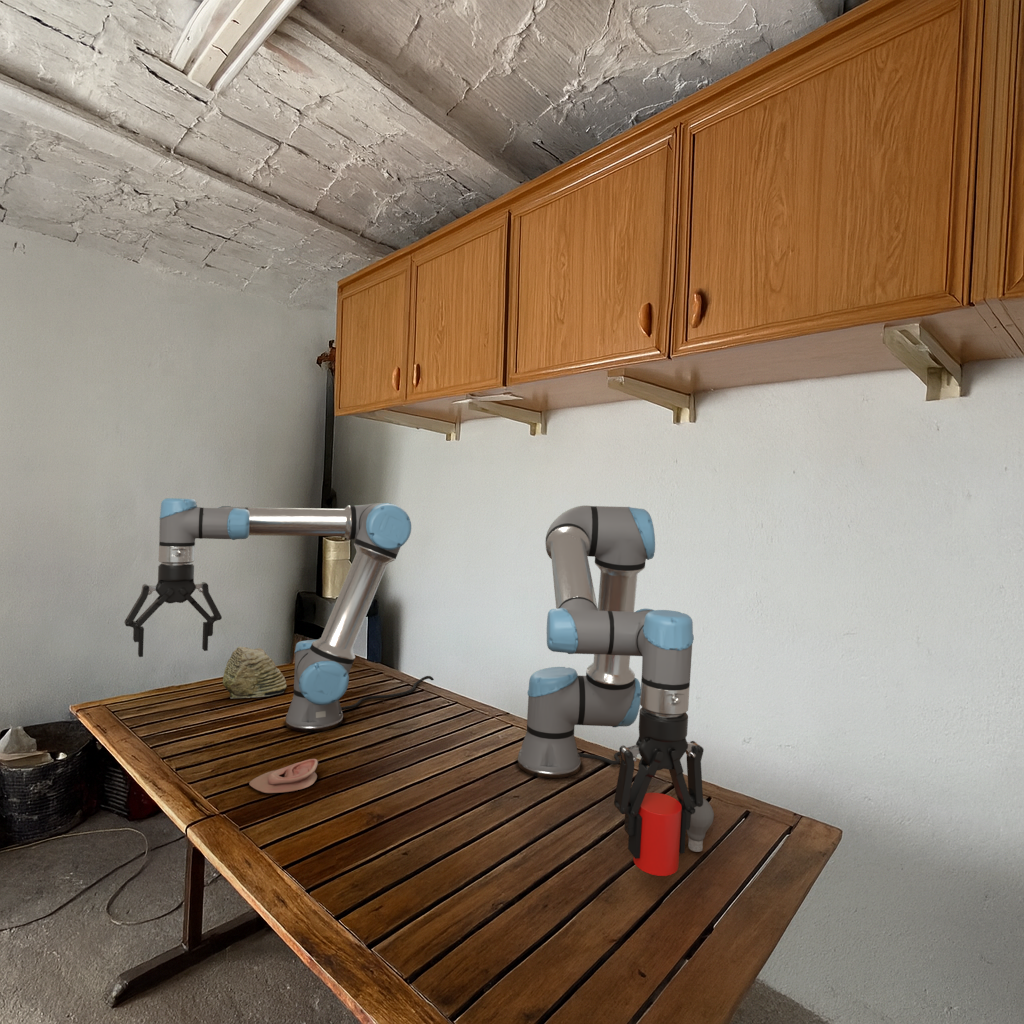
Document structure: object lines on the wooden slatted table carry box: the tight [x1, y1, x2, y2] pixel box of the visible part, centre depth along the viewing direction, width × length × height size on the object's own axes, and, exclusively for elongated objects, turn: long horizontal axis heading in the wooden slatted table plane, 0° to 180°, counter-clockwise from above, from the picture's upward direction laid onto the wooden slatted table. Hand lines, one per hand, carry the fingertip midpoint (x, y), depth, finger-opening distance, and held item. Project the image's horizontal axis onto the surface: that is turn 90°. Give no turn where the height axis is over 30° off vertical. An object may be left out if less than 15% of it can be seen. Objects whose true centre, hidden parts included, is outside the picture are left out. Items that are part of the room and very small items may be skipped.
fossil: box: [222, 646, 288, 699], centre depth 198 cm, size 9×18×15 cm, turn 132°
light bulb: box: [686, 797, 715, 853], centre depth 119 cm, size 6×6×10 cm
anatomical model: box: [248, 758, 319, 794], centre depth 139 cm, size 13×4×12 cm
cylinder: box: [632, 792, 682, 877], centre depth 101 cm, size 7×7×10 cm
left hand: (173, 652), depth 150 cm, fingers open, 13 cm apart
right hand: (656, 850), depth 101 cm, fingers closed on cylinder, 7 cm apart
